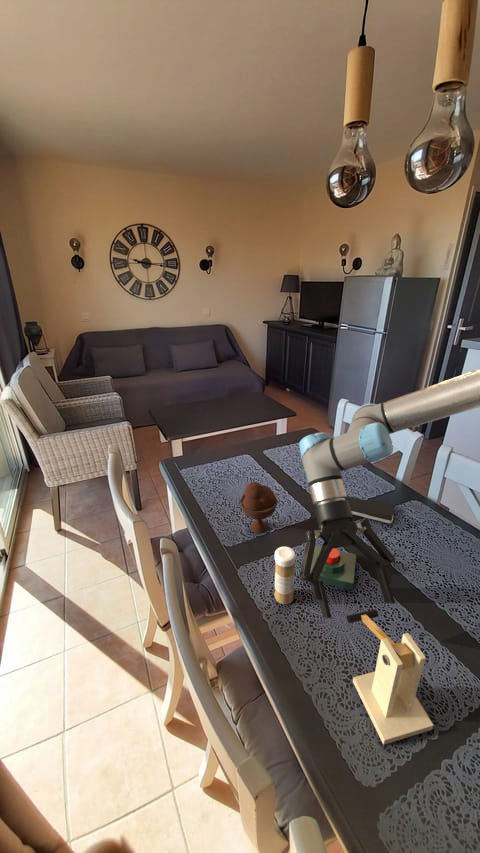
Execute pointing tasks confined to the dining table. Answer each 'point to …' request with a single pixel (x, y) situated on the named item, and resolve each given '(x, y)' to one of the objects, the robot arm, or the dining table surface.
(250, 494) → the ice cream bowl
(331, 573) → the off panel
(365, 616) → the lever
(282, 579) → the sprinkles bottle
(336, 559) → the button
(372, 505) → the smartphone
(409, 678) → the wooden lever stand
